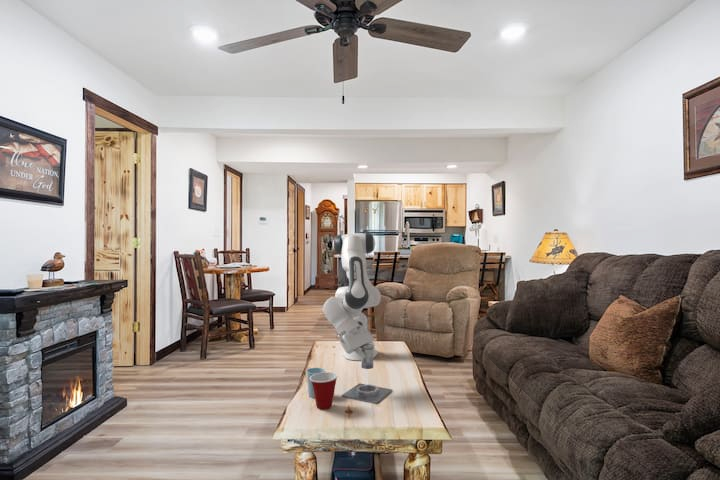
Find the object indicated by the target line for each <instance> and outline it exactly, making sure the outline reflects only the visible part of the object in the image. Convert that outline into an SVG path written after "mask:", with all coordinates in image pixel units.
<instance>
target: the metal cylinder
mask: <svg viewBox="0 0 720 480" xmlns="http://www.w3.org/2000/svg"><path fill="white" fill-rule="evenodd" d="M374 345H375V344H374ZM374 345H371V344H365V345H363V346H361V348H362V351H363V352H365V353H366V354H367V357H366V358H364V359H363V358H362V360H361V368H362V369H363V370H364V369H365V370H370V369H374V359H373V352H374Z"/></svg>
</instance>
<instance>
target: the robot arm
mask: <svg viewBox="0 0 720 480" xmlns="http://www.w3.org/2000/svg"><path fill="white" fill-rule="evenodd" d="M375 246H376V240H375V238H374V235H373V234H372V233H369V232H365V233H361V232H353V233H346V234H338V235H335V236H334V237H333V240H332V250H333V251H334V253H335V254H336V255H339V256H341V257H340V258H341V266H342V269H343V270H344V271H345V272H346V277H347V279H348V280H349V281H348V282H349V284H348V286H340V287H338V288H337V290H336V291H335V293H334V294H335V295H334V296H330V297H328V298H327V299H326V300H325V301H324V303H323V304H322V308H321V310H322V313H323V315H324V316H325V318H326V319H327V321H328V322H329V324H330V325H333V327H334V328H335V331H336V332H337V338H338V339H339V341H338V342H339V343H340V345H341V348H343V350H344V351H343V352H342V356H343V357H344V358H345V359H347V360H352V361H362V358H363V359H364V358H366V357H367V354H366V353H365V352H363V351H362V348H361V346H363V345H365V344H371V345H374V352H373V360H374V358H375V357H376V356H378V354H379V353H380V352H379V350H376V348H375V346H376V345H375V342H374V337H373V335H372V330H368V326H369V325H368V322H369V321H368V320H369V319H368V317H367V316H366V314H364V312H362V311H363V310H364V308H370V307H371V308H372V307H376V306H378V305H379V304H380V302H381V299H382V295H381V292H380V290H379V289H378V288H377V287H376V286H374V285H373V284H372V282H371V281H370V279H369V276H368V271H367V260H366V254H367V255H368V254H371V253H372V252H373V251H375Z"/></svg>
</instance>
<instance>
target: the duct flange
mask: <svg viewBox="0 0 720 480" xmlns="http://www.w3.org/2000/svg"><path fill="white" fill-rule="evenodd" d="M392 392H393V389H392V388H387V387H381V386H377V385H372V384H367V383H365V384H364V383H357V384H356V385H355V386H353V387H352V388H350V389H349V390H348V391H346V392H344V393H343V394H341V398H346V399H350V400H355V401H359V402H365V403H369V404H374V405H375V404H376V405H377V404H379V403H380V402H381V401H382V400H383V399H385V398H386V397H387V396H388V395H390V394H391V393H392Z"/></svg>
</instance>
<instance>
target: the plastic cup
mask: <svg viewBox="0 0 720 480" xmlns="http://www.w3.org/2000/svg"><path fill="white" fill-rule="evenodd" d="M338 377H339V376H338V373H336V372H330V371H325V372H322V373H317V374H314V375H312V376H311V377H310V380H311V382H312V385H313V390H314V396H315V398H314V399H315V406H316V408H317V409H318V410H321V411H324V410H330V409H331V408H332V405H333V402H334V401H333V400H334V395H335V390H336V385H337V379H338Z"/></svg>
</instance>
